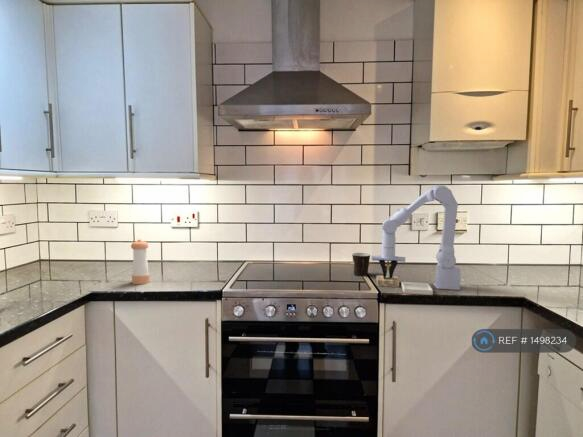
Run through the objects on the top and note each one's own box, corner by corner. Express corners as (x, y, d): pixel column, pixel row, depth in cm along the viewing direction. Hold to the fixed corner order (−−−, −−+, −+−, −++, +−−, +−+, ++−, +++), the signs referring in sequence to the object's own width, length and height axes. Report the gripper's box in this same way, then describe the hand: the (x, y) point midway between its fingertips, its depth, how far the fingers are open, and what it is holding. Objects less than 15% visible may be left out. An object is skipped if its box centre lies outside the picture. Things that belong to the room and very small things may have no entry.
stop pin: (389, 283, 166) (390, 265, 165) (390, 284, 164) (391, 266, 163) (384, 282, 166) (385, 265, 166) (384, 284, 164) (385, 266, 163)
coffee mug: (355, 271, 187) (355, 252, 186) (371, 273, 183) (372, 253, 182) (347, 276, 177) (347, 256, 176) (365, 278, 173) (365, 257, 172)
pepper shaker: (130, 284, 160) (129, 241, 158) (133, 280, 167) (131, 238, 165) (148, 283, 162) (147, 240, 160) (150, 279, 169) (149, 238, 167)
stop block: (396, 281, 169) (396, 276, 168) (398, 287, 160) (399, 281, 160) (376, 280, 170) (376, 275, 170) (377, 285, 161) (377, 280, 161)
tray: (427, 287, 159) (427, 283, 159) (432, 295, 148) (432, 290, 148) (400, 286, 161) (401, 281, 161) (404, 293, 150) (404, 288, 150)
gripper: (404, 246, 166) (403, 275, 167) (371, 244, 169) (370, 274, 170) (406, 248, 159) (405, 279, 160) (372, 247, 162) (371, 277, 163)
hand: (387, 277), depth 165 cm, fingers closed on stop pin, 2 cm apart
